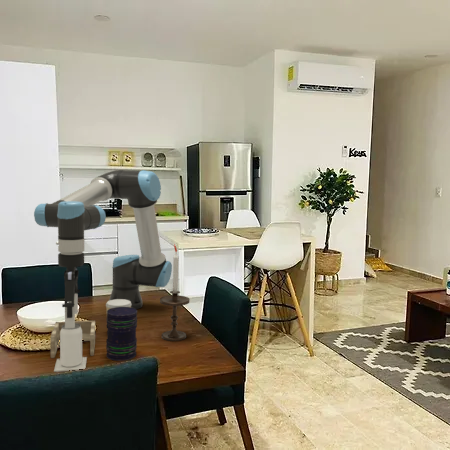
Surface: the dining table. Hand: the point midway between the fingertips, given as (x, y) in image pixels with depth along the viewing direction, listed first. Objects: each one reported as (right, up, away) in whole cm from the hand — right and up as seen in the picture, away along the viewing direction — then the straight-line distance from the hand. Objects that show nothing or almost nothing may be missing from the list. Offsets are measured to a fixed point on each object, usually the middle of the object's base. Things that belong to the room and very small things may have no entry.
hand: (71, 320), depth 141 cm
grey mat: (-1, -14, +1) cm, 14 cm away
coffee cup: (+7, -12, +31) cm, 34 cm away
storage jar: (+13, -14, +11) cm, 22 cm away
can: (0, -14, +1) cm, 14 cm away
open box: (-4, -13, +15) cm, 20 cm away
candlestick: (+28, -12, +29) cm, 43 cm away
